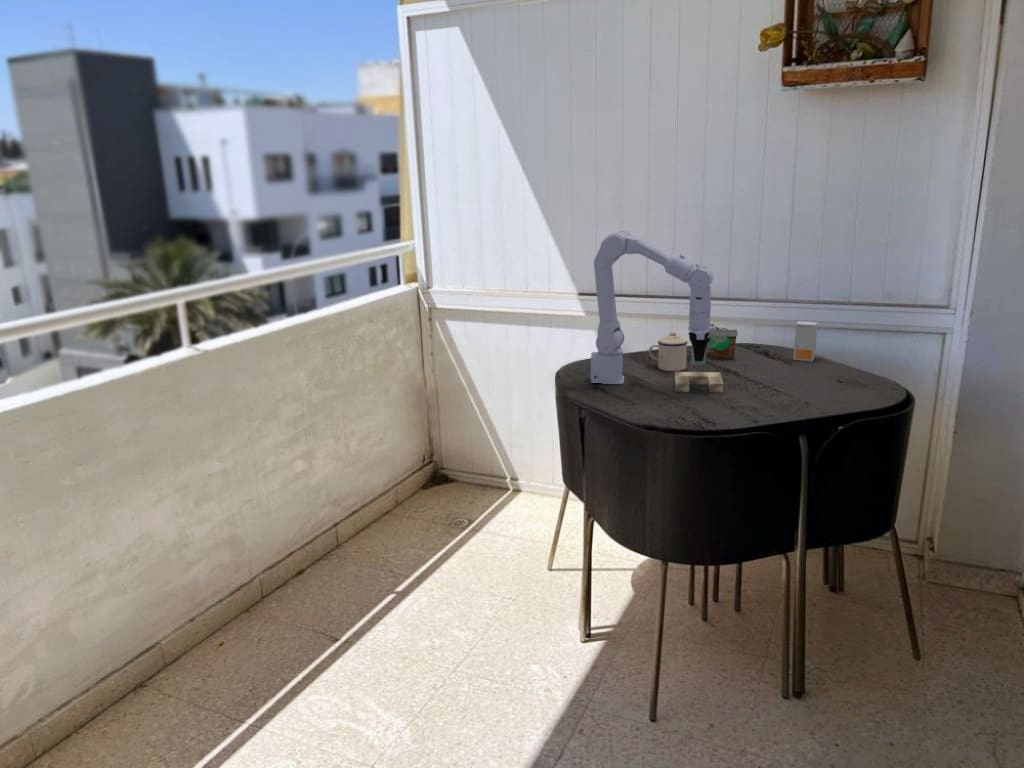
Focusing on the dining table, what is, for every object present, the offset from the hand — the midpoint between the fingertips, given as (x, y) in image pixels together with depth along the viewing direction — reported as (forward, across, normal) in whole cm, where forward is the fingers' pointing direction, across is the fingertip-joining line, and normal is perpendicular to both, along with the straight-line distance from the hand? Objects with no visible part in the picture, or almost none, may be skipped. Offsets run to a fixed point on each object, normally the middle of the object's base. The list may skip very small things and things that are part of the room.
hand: (698, 359), depth 206 cm
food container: (+9, +36, -8) cm, 37 cm away
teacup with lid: (+9, +22, +8) cm, 25 cm away
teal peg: (+1, 0, 0) cm, 1 cm away
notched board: (+8, +2, 0) cm, 9 cm away
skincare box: (+9, +34, -35) cm, 49 cm away
